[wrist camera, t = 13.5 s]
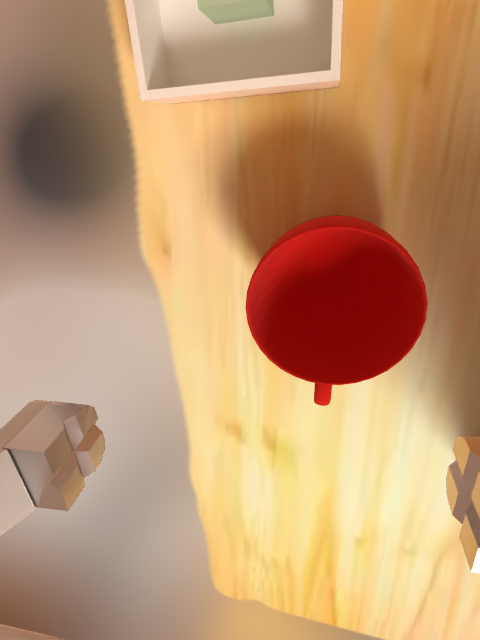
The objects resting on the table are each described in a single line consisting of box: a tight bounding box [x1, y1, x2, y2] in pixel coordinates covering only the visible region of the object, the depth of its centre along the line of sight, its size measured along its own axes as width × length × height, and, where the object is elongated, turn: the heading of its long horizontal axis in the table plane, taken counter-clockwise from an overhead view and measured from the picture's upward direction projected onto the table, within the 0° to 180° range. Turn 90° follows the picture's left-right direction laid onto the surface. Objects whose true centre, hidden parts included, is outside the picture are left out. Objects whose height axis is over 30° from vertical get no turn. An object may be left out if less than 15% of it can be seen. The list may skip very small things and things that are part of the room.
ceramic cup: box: [246, 215, 427, 406], centre depth 33 cm, size 13×17×10 cm
